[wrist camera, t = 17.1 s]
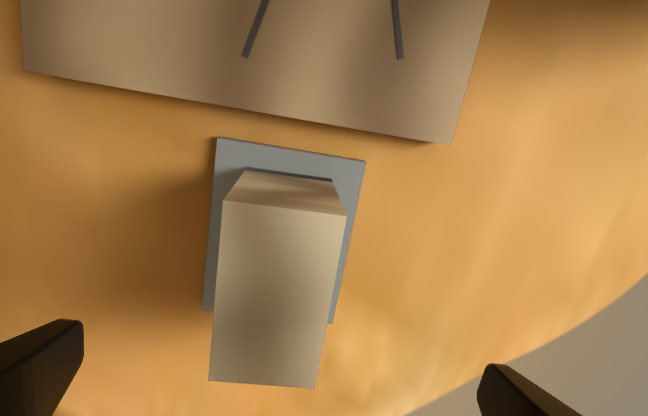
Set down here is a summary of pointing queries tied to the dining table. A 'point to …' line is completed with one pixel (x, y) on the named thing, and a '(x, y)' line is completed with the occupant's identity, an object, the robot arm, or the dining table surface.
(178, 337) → the dining table surface
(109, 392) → the dining table surface
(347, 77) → the oak board
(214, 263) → the mat
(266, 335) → the block
